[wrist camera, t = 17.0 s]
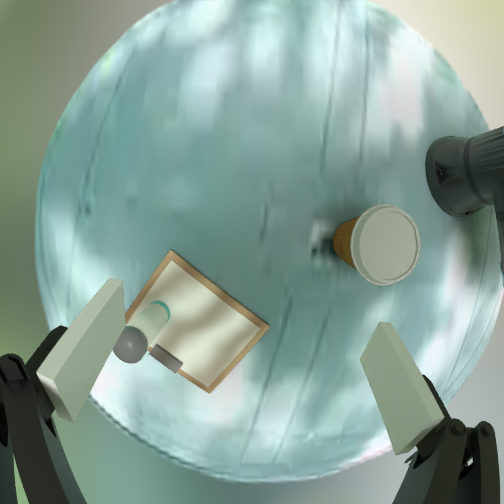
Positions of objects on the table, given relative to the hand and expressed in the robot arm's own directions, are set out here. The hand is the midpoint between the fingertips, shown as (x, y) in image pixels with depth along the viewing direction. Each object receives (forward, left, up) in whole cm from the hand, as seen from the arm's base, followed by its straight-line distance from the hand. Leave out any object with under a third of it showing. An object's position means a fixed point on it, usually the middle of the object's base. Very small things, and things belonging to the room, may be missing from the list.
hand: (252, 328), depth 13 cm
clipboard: (0, +12, -27) cm, 29 cm away
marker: (+5, +13, -26) cm, 29 cm away
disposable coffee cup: (-11, -13, -27) cm, 32 cm away
